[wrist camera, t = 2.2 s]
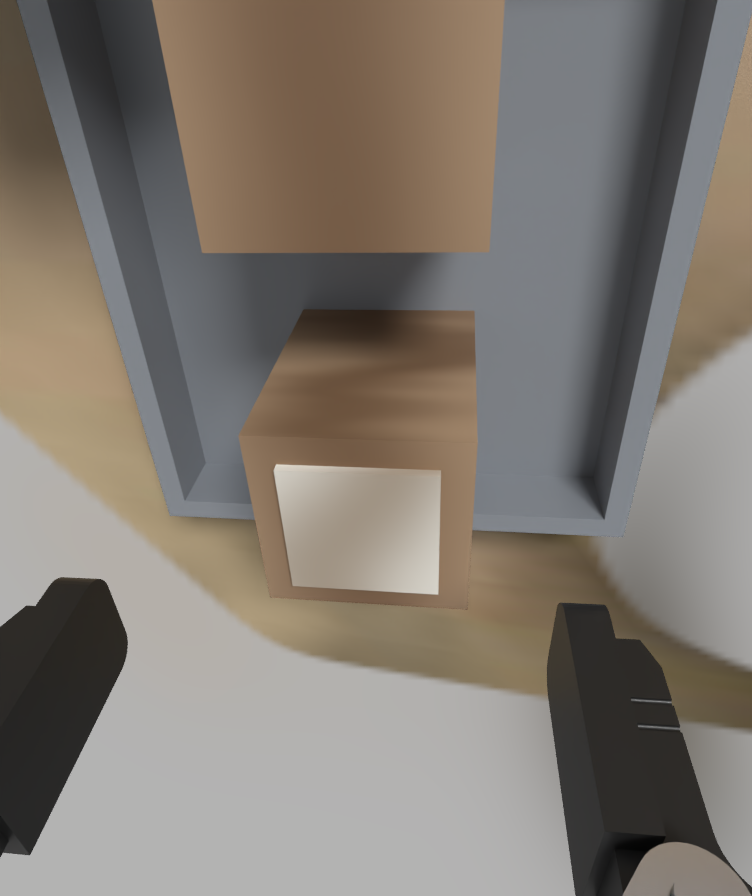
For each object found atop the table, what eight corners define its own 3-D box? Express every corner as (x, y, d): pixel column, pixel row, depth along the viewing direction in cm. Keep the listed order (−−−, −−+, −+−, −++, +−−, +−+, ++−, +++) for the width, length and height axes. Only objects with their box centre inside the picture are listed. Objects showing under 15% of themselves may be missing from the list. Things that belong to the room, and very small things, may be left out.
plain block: (494, -95, 12) (513, -153, 7) (482, 165, 15) (489, 252, 10) (259, -79, 12) (127, -124, 8) (287, 168, 15) (202, 252, 10)
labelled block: (474, 310, 17) (478, 449, 12) (467, 452, 19) (467, 616, 14) (303, 309, 17) (235, 441, 12) (318, 447, 20) (268, 604, 15)
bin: (753, -208, 11) (817, -253, 9) (607, 481, 20) (623, 536, 18) (44, -150, 13) (-37, -177, 11) (198, 465, 21) (169, 515, 19)
